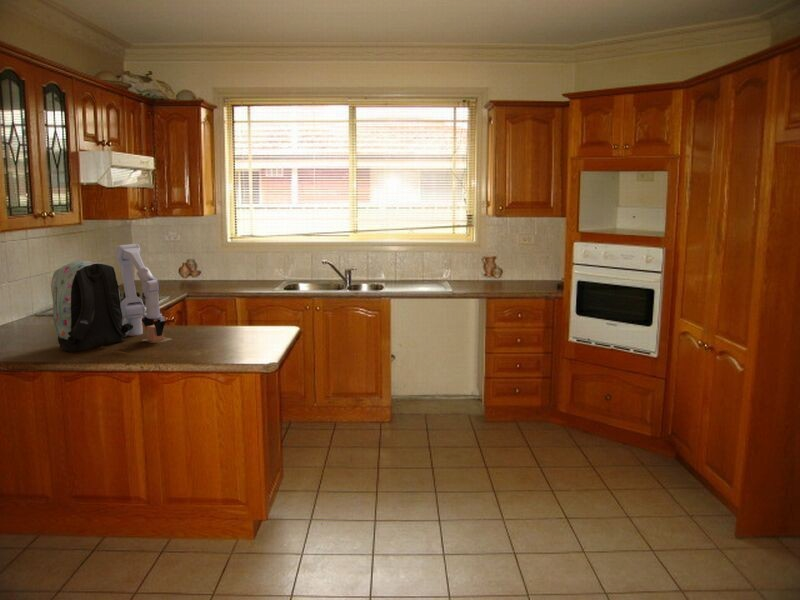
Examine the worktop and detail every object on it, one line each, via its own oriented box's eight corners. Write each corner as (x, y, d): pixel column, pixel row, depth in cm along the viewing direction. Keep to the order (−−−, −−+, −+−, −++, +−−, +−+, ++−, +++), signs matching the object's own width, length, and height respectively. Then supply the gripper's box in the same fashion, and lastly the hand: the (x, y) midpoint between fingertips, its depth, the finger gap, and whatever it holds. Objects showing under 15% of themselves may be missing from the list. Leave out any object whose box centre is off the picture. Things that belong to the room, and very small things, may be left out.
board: (141, 341, 306) (141, 340, 306) (160, 337, 314) (160, 336, 314) (154, 345, 300) (153, 343, 300) (173, 340, 308) (172, 339, 308)
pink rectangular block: (147, 340, 306) (146, 326, 304) (157, 338, 310) (156, 324, 308) (153, 341, 302) (152, 327, 301) (163, 339, 307) (162, 325, 305)
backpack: (102, 335, 320) (95, 256, 314) (137, 340, 309) (131, 258, 302) (40, 350, 292) (30, 263, 285) (76, 356, 281) (67, 266, 274)
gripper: (169, 306, 302) (171, 335, 304) (151, 302, 311) (153, 331, 313) (156, 308, 296) (158, 337, 299) (137, 305, 305) (140, 333, 307)
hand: (154, 334), depth 305 cm, fingers open, 7 cm apart
